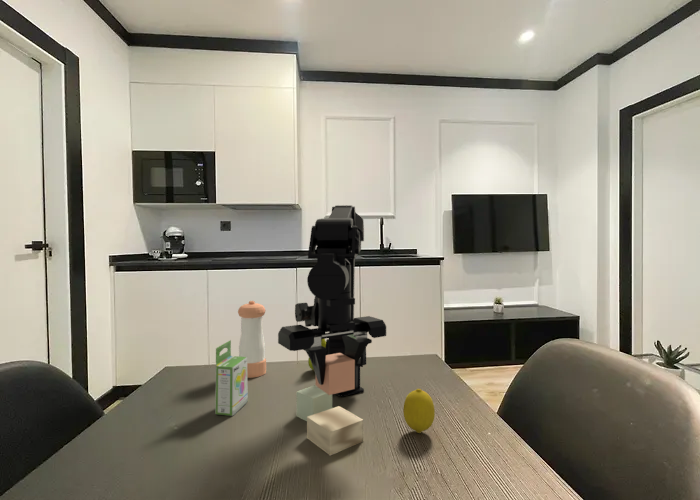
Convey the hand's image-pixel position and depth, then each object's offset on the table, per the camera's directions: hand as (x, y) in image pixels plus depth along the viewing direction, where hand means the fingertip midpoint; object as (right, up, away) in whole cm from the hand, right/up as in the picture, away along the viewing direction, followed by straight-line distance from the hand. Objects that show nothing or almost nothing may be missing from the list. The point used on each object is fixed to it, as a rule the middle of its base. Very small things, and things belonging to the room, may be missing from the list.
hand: (334, 381), depth 65 cm
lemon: (+15, -10, +2) cm, 18 cm away
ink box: (-22, -10, +12) cm, 27 cm away
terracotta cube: (0, -1, 0) cm, 1 cm away
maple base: (0, -11, 0) cm, 11 cm away
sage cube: (-4, -10, +9) cm, 14 cm away
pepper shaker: (-23, -10, +34) cm, 42 cm away
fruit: (-5, -10, +35) cm, 37 cm away
